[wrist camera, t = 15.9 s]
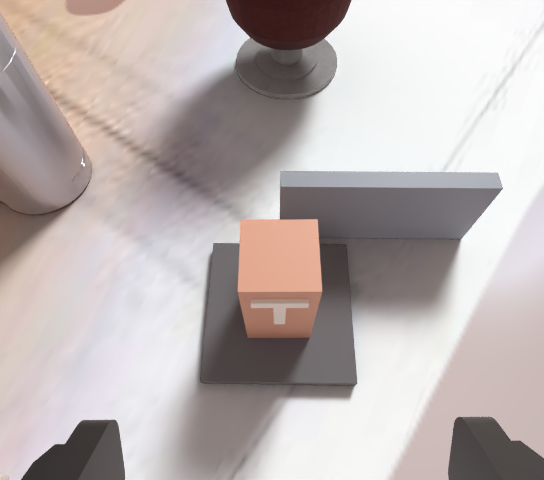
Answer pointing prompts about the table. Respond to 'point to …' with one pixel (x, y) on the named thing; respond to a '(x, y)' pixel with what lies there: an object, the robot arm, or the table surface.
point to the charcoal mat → (279, 351)
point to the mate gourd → (287, 44)
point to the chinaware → (4, 477)
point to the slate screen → (388, 202)
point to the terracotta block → (279, 277)
